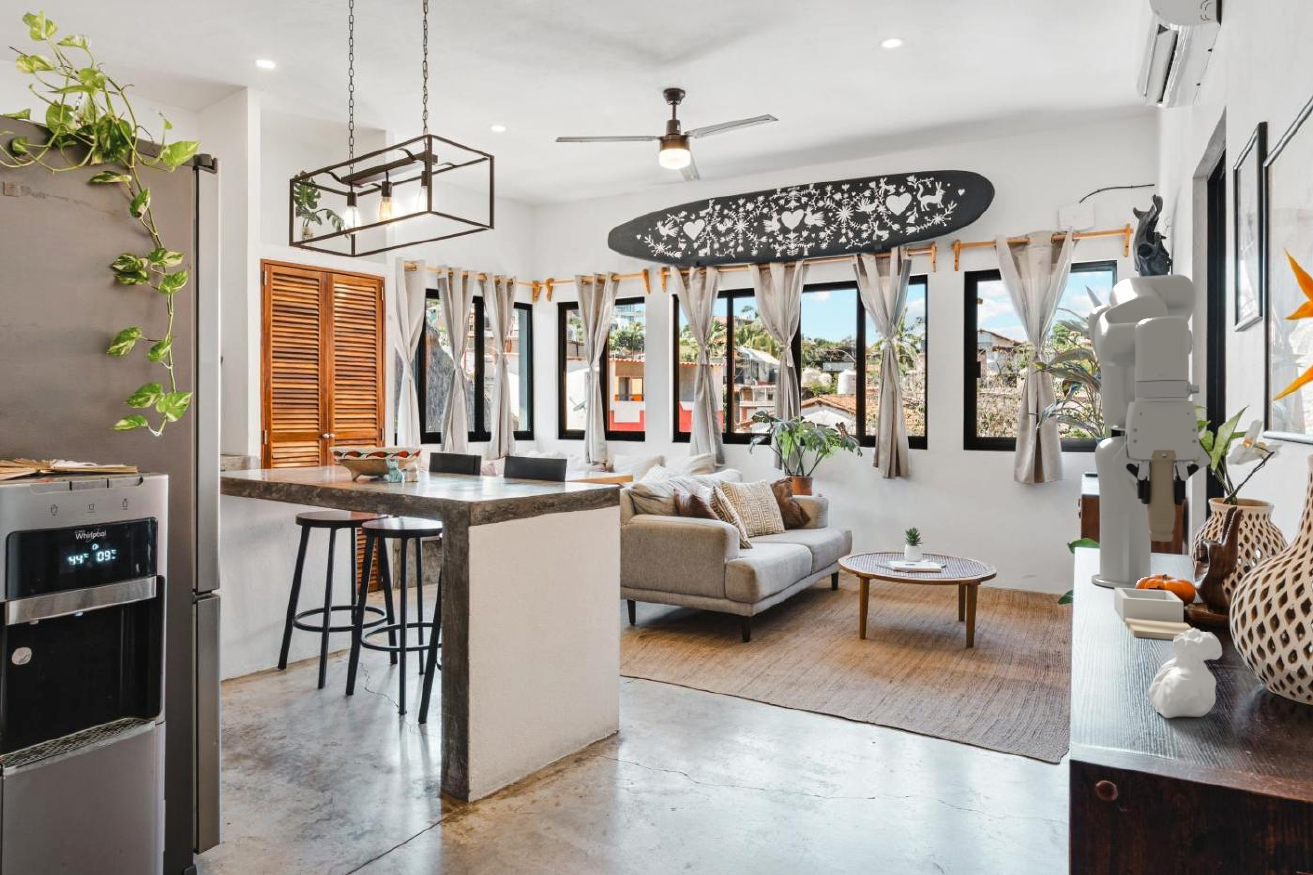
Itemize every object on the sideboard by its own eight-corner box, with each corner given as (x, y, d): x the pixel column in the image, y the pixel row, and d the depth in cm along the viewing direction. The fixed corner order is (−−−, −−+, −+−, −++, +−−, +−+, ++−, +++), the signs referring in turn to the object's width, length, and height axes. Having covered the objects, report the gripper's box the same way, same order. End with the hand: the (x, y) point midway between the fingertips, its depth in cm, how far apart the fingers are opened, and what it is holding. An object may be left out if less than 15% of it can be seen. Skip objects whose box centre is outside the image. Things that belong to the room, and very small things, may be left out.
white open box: (1114, 608, 151) (1114, 587, 151) (1170, 612, 148) (1170, 590, 148) (1123, 621, 142) (1123, 598, 142) (1183, 625, 139) (1183, 602, 139)
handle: (1187, 543, 131) (1187, 450, 130) (1141, 541, 133) (1141, 450, 133) (1180, 539, 135) (1180, 449, 135) (1135, 537, 137) (1136, 449, 137)
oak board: (1125, 623, 140) (1125, 618, 140) (1186, 628, 137) (1186, 622, 137) (1134, 636, 132) (1134, 630, 132) (1199, 641, 128) (1199, 635, 128)
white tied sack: (1184, 747, 93) (1259, 680, 89) (1123, 697, 96) (1194, 630, 92) (1185, 715, 103) (1253, 653, 99) (1130, 671, 106) (1194, 609, 102)
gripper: (1215, 392, 134) (1214, 503, 134) (1100, 394, 140) (1100, 500, 141) (1228, 391, 127) (1227, 507, 127) (1107, 393, 133) (1107, 504, 134)
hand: (1161, 502), depth 134 cm, fingers closed on handle, 3 cm apart
